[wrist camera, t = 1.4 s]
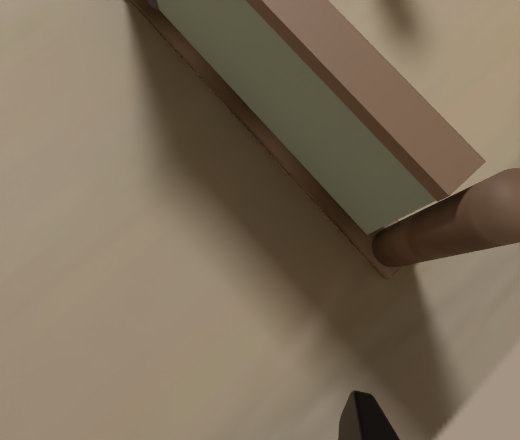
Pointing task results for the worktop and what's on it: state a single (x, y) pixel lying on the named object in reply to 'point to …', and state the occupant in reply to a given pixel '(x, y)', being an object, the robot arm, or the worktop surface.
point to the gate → (330, 102)
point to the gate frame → (398, 232)
